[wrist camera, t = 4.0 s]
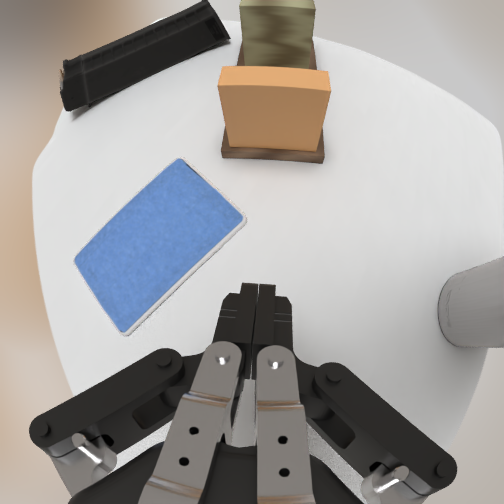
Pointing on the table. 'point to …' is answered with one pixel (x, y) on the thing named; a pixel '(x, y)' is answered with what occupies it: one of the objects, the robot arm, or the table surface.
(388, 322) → the table surface
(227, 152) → the book row
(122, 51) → the magazine
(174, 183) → the blue flat slab
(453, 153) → the table surface
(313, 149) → the loose bookend
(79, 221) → the table surface
